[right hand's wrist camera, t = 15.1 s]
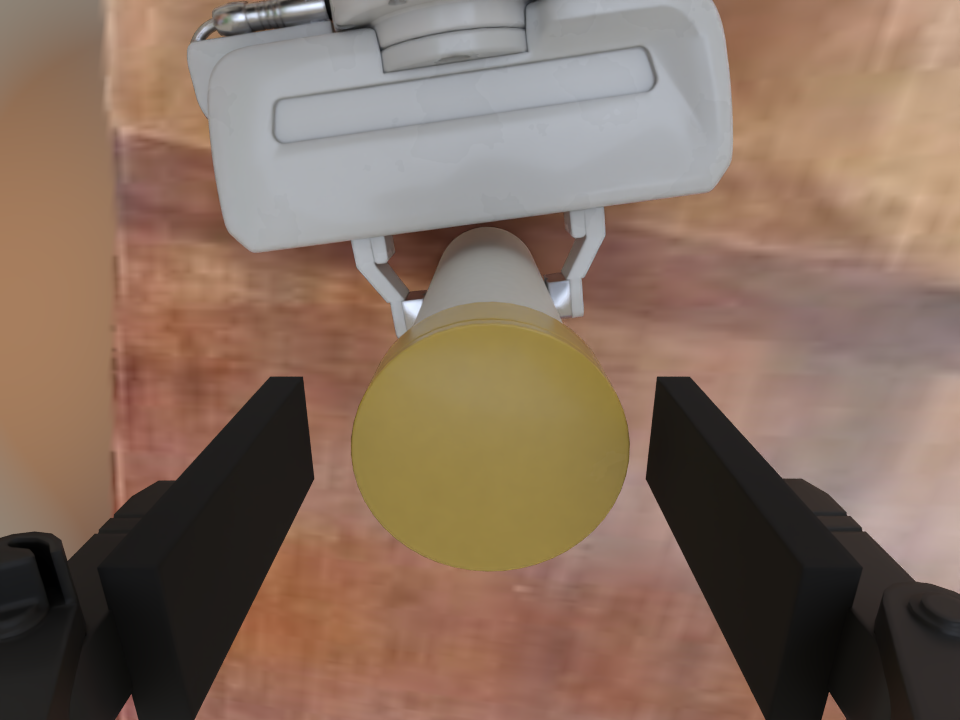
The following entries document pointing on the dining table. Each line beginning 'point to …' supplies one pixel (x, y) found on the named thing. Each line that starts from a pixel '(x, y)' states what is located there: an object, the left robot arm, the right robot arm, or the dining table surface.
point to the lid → (490, 438)
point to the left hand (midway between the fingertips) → (491, 325)
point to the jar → (486, 274)
